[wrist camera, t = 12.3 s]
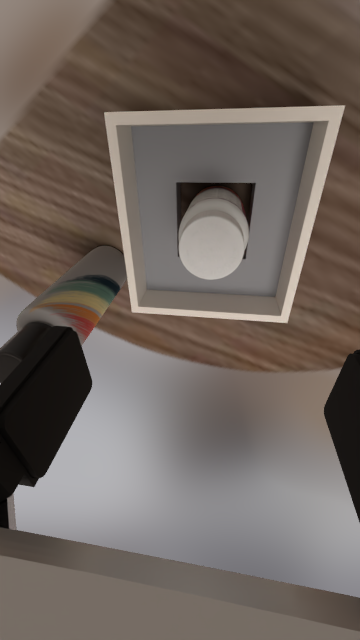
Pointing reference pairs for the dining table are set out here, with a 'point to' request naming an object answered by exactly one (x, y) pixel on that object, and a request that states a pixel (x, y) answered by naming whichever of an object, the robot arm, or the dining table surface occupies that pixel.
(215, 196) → the pill bottle
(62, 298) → the lotion bottle
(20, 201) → the dining table surface
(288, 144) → the box
